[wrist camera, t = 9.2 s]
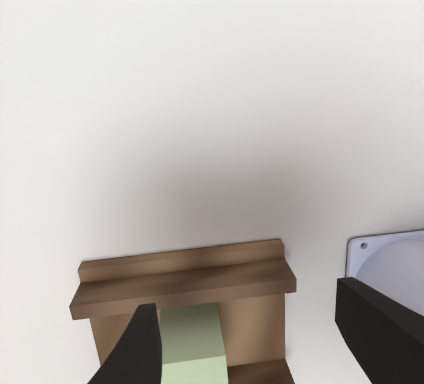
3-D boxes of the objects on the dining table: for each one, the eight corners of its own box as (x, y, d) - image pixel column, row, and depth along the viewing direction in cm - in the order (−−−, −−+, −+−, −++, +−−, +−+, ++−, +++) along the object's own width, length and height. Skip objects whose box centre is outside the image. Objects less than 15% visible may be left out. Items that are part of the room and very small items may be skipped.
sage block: (216, 300, 24) (225, 355, 19) (220, 345, 25) (230, 406, 20) (160, 308, 24) (156, 365, 19) (167, 352, 25) (165, 416, 20)
